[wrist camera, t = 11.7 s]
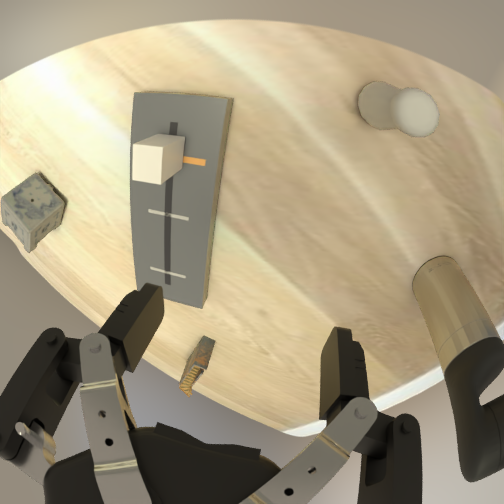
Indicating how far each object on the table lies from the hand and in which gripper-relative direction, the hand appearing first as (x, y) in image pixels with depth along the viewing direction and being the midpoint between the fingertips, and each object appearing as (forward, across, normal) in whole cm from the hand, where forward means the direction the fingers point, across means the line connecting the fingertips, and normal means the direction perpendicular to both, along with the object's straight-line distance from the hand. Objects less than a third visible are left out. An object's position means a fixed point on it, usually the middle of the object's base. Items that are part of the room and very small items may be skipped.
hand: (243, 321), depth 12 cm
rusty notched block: (+27, +10, +40) cm, 49 cm away
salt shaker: (+26, -9, -12) cm, 30 cm away
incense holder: (+25, +42, +10) cm, 50 cm away
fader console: (+25, +14, +7) cm, 30 cm away
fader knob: (+22, +14, -2) cm, 26 cm away
